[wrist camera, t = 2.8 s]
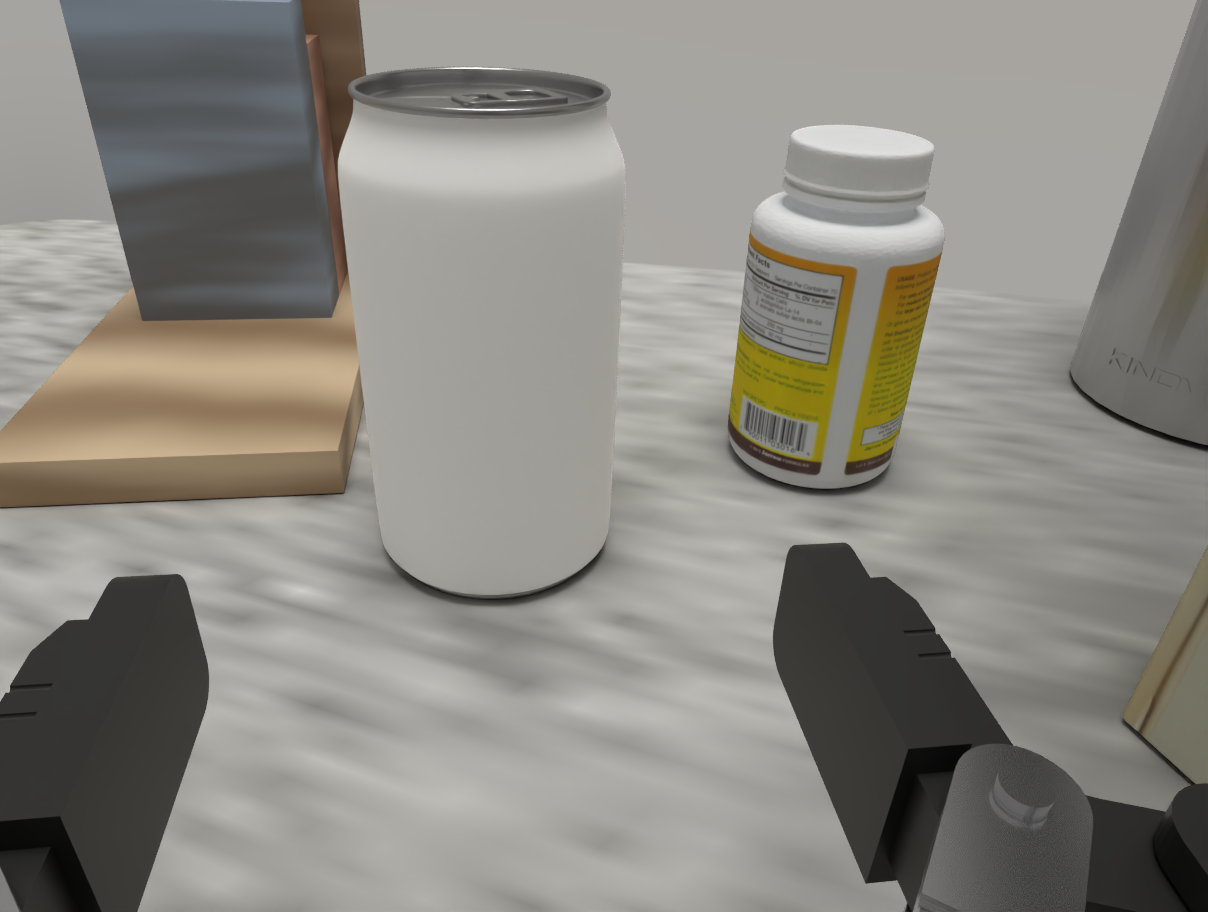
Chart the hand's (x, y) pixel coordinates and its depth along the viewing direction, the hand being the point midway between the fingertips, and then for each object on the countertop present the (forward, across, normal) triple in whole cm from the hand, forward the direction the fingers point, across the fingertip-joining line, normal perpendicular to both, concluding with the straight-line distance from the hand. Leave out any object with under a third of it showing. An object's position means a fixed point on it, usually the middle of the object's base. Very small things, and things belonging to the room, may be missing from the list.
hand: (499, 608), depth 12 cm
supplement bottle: (+15, -11, +7) cm, 20 cm away
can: (+11, 0, +7) cm, 13 cm away
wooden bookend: (+22, +9, +7) cm, 25 cm away
